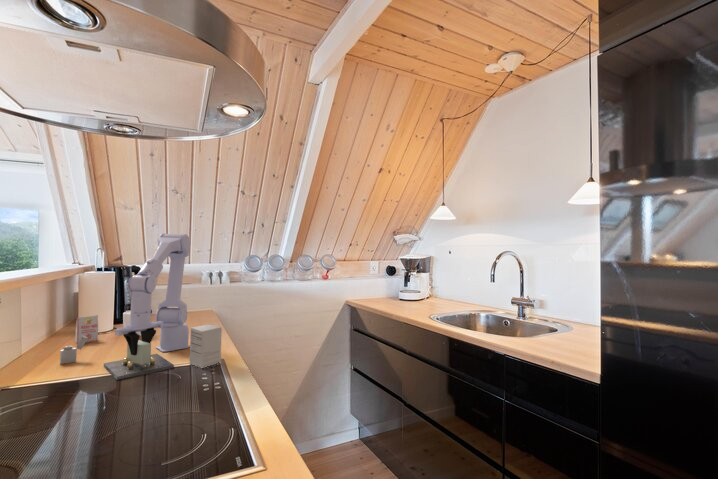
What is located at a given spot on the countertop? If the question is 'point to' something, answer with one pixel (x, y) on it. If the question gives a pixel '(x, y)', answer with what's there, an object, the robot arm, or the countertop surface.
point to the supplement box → (205, 345)
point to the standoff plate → (136, 367)
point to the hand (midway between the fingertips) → (139, 353)
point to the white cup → (128, 320)
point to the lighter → (71, 352)
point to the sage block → (140, 353)
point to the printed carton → (87, 328)
